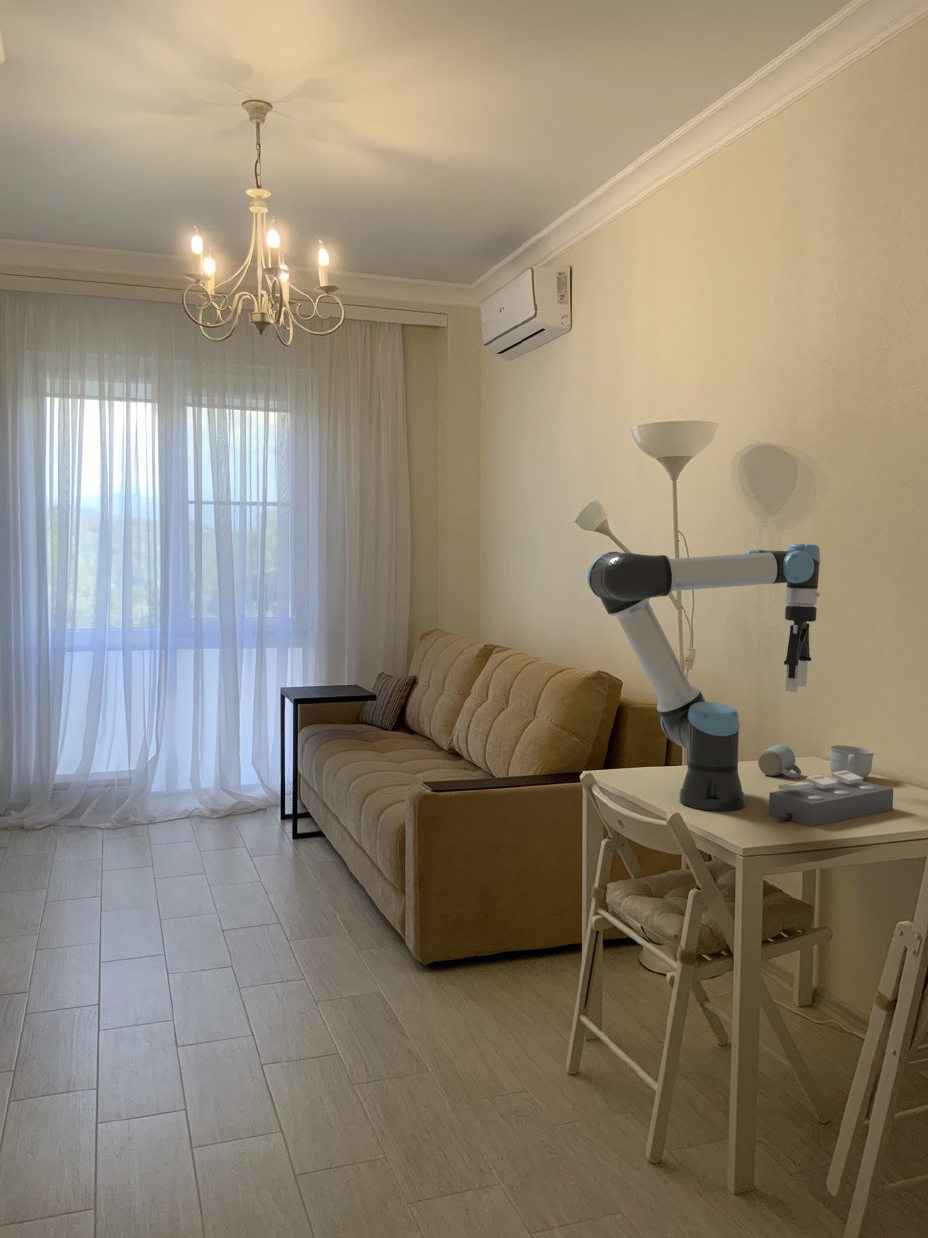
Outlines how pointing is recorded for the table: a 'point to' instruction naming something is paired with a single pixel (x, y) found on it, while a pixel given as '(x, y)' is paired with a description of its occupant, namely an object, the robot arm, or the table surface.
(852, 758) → the teacup
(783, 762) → the ceramic mug
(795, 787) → the rocker
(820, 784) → the rocker
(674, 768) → the table surface
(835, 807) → the power strip
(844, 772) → the rocker
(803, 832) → the table surface
